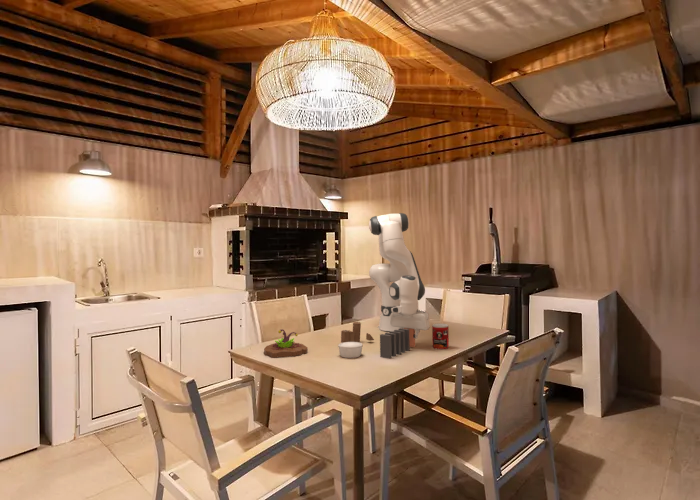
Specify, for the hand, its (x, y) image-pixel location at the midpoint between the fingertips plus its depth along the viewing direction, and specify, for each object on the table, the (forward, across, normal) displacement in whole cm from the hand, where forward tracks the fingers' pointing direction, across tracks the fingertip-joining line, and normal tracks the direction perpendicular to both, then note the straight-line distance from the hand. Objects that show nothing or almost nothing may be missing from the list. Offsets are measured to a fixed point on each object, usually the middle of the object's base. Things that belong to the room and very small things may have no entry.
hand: (409, 337), depth 201 cm
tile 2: (+5, 0, +10) cm, 11 cm away
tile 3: (+5, 0, +14) cm, 14 cm away
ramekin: (+5, +15, +28) cm, 32 cm away
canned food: (+5, -12, -9) cm, 16 cm away
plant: (+6, +46, +40) cm, 61 cm away
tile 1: (+5, 0, +6) cm, 8 cm away
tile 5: (+5, 0, +22) cm, 22 cm away
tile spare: (+4, 0, 0) cm, 4 cm away
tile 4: (+5, 0, +18) cm, 18 cm away
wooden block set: (+5, +27, +8) cm, 29 cm away
